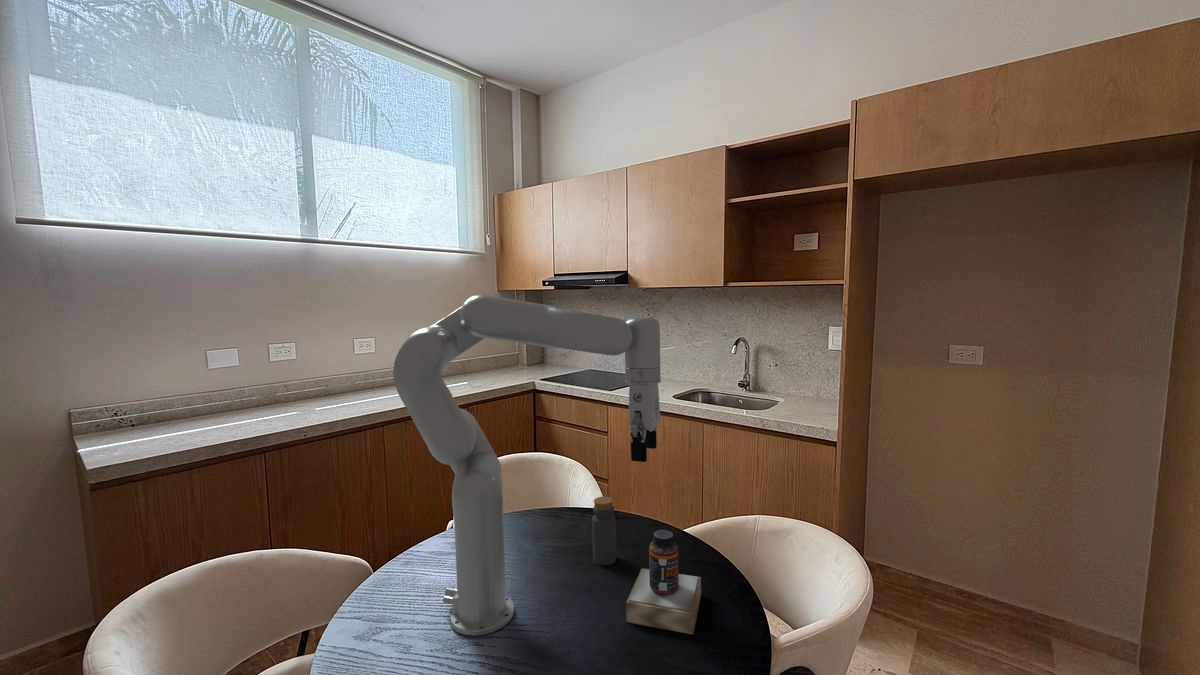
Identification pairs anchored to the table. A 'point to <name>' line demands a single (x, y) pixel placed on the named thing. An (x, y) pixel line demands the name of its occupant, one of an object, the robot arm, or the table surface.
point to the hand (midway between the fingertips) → (644, 454)
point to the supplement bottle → (663, 563)
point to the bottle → (604, 531)
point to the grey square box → (665, 604)
